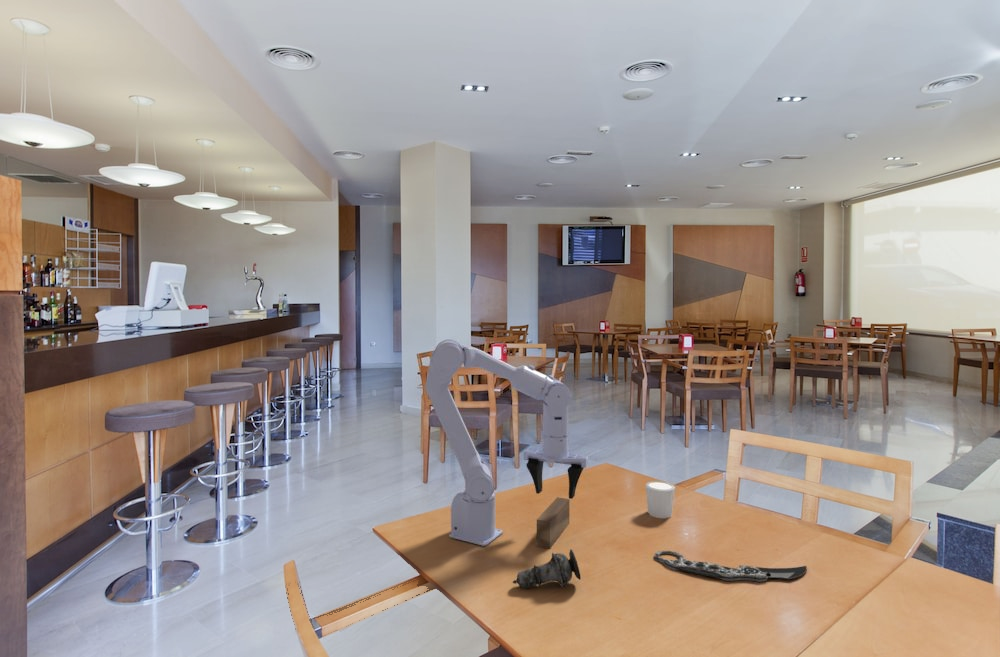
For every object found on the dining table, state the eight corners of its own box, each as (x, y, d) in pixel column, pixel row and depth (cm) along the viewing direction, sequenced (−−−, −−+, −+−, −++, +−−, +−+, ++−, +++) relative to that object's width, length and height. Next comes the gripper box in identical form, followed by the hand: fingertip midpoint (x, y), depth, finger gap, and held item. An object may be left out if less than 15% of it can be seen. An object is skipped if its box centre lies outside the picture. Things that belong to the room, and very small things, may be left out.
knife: (806, 562, 104) (821, 585, 94) (806, 570, 104) (821, 594, 94) (654, 546, 112) (654, 566, 102) (654, 553, 112) (654, 574, 102)
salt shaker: (581, 587, 97) (518, 606, 96) (571, 557, 102) (510, 575, 101) (580, 571, 94) (514, 590, 92) (569, 541, 98) (506, 559, 97)
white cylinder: (651, 506, 135) (651, 478, 135) (678, 512, 131) (678, 484, 130) (641, 515, 129) (641, 486, 129) (669, 521, 125) (669, 492, 125)
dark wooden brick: (536, 547, 113) (536, 519, 113) (557, 522, 126) (557, 497, 126) (550, 549, 112) (550, 521, 112) (569, 524, 125) (569, 499, 124)
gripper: (518, 435, 118) (518, 495, 119) (582, 442, 112) (581, 505, 113) (529, 428, 125) (529, 485, 125) (590, 434, 119) (590, 494, 119)
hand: (555, 494), depth 119 cm, fingers open, 7 cm apart
